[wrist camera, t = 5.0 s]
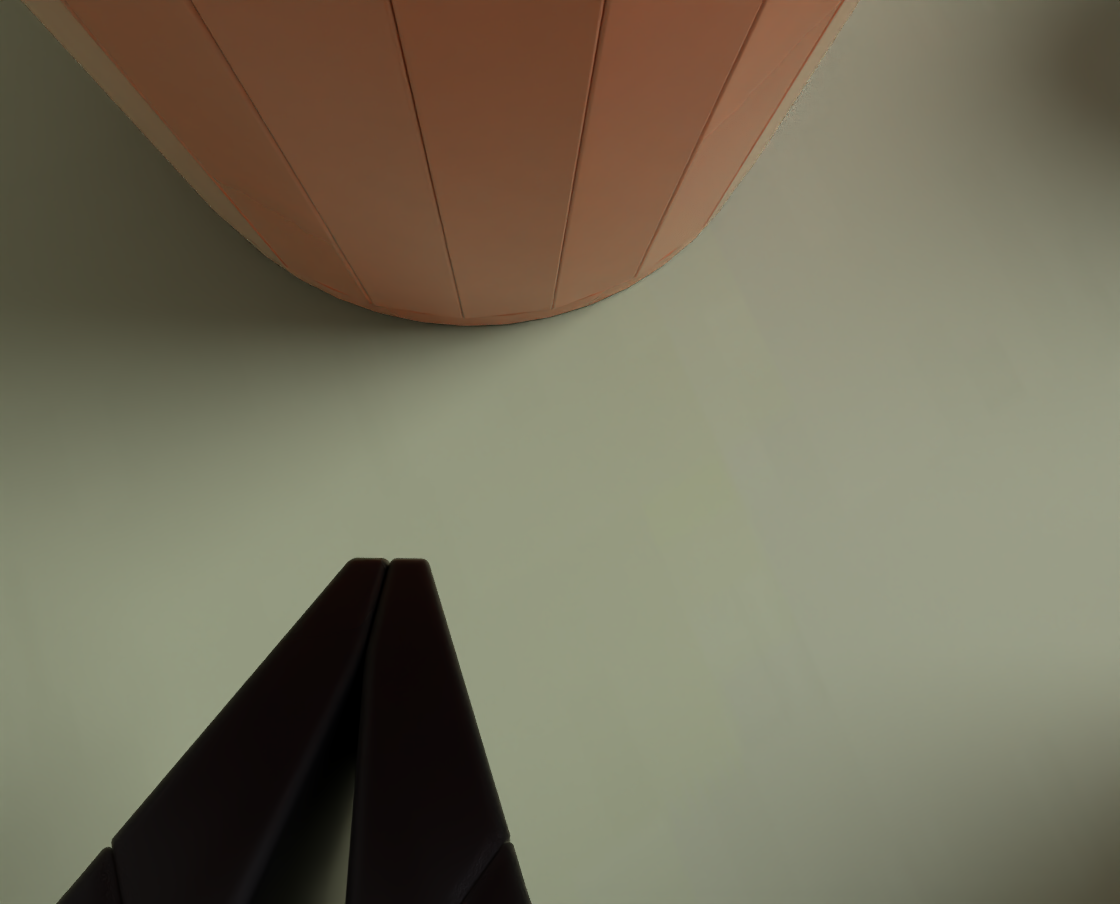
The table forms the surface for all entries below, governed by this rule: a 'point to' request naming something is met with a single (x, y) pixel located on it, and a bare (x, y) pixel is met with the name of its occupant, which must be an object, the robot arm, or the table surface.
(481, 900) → the robot arm
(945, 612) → the table surface
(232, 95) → the bucket
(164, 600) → the table surface
